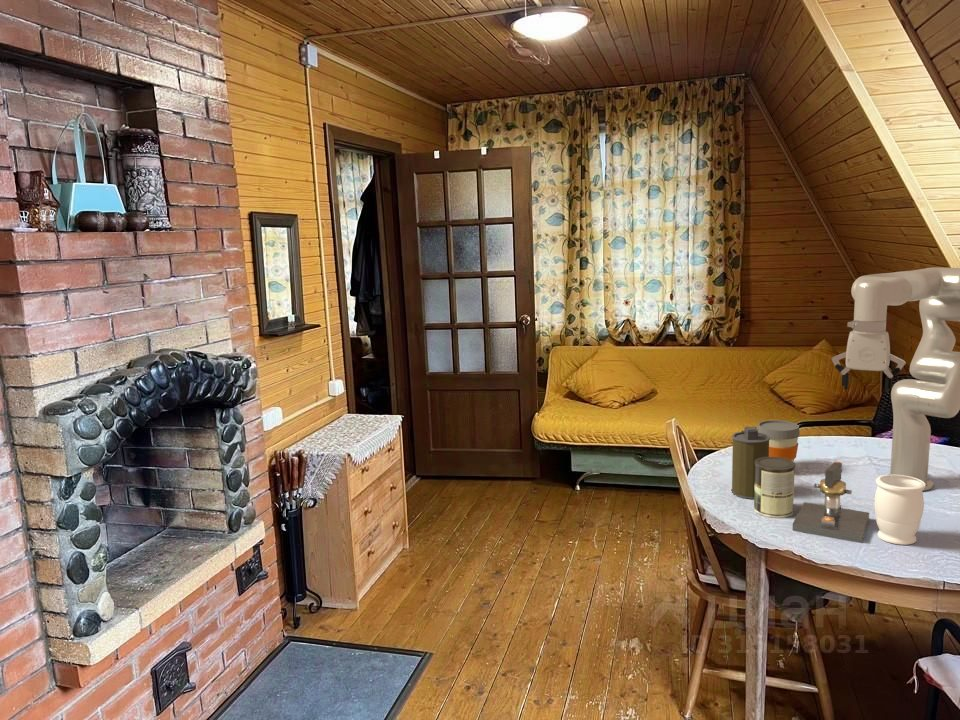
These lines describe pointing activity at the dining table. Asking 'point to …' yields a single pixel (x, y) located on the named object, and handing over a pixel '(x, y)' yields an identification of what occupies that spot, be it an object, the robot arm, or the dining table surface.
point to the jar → (898, 508)
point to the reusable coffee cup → (781, 438)
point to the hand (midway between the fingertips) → (866, 390)
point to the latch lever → (833, 481)
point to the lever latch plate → (831, 520)
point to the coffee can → (774, 487)
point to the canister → (747, 460)
